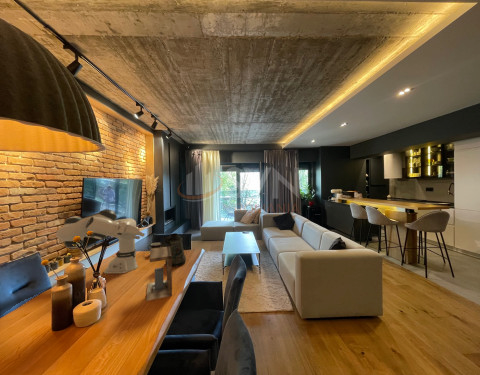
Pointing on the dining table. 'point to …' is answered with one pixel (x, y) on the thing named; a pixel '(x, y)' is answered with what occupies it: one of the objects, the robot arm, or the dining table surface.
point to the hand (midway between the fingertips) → (141, 236)
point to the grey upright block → (159, 279)
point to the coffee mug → (155, 245)
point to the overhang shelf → (165, 254)
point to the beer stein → (175, 249)
